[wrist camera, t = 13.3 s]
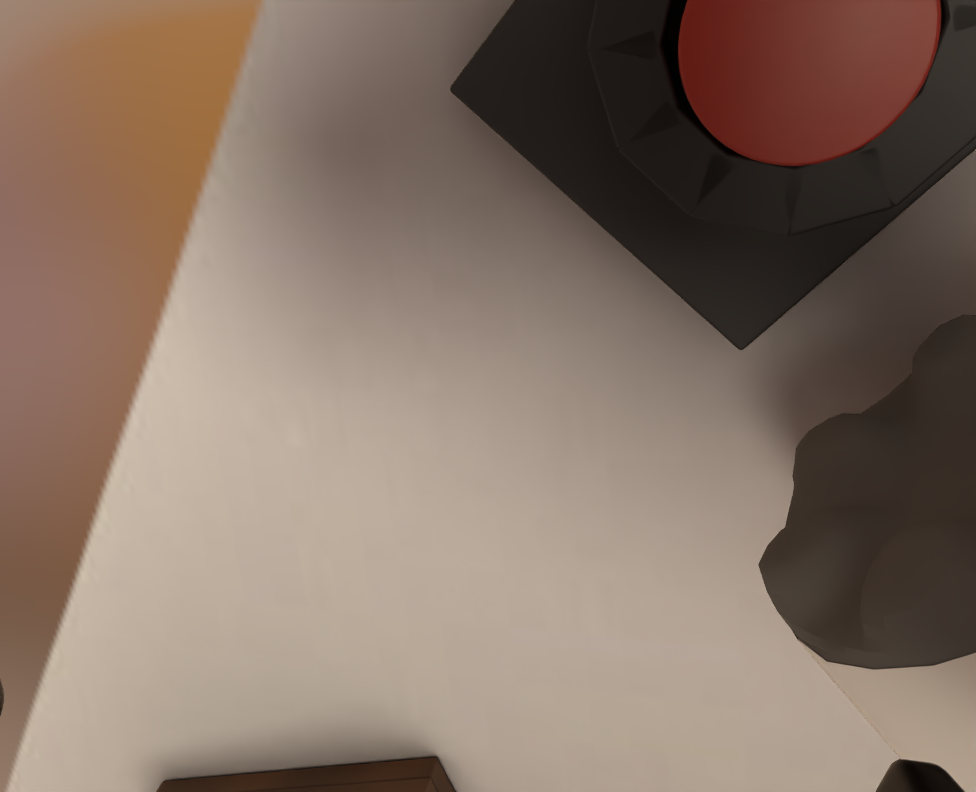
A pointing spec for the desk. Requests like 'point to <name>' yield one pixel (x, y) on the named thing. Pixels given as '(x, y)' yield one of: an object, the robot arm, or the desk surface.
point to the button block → (704, 154)
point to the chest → (328, 779)
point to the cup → (893, 555)
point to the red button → (804, 72)
